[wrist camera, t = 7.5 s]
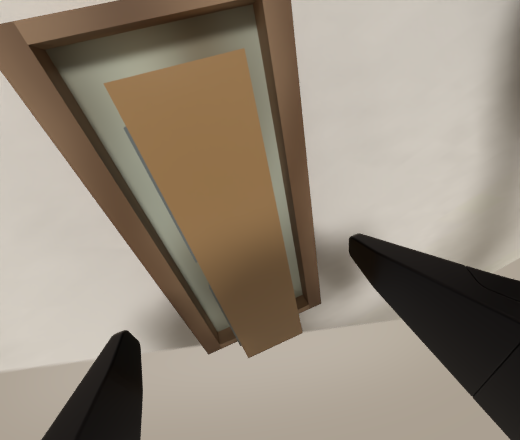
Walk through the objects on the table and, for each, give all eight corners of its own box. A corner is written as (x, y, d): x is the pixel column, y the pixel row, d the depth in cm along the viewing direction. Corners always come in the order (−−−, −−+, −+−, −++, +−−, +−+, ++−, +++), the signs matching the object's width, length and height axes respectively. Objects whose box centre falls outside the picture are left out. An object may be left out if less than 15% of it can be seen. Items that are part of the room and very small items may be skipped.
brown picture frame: (257, -1, 10) (287, -33, 7) (301, 274, 20) (321, 303, 17) (34, 47, 8) (-30, 29, 6) (203, 316, 18) (208, 354, 16)
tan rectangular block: (221, 61, 9) (244, 48, 6) (280, 289, 16) (302, 332, 14) (124, 85, 8) (96, 85, 5) (233, 310, 16) (246, 359, 13)
